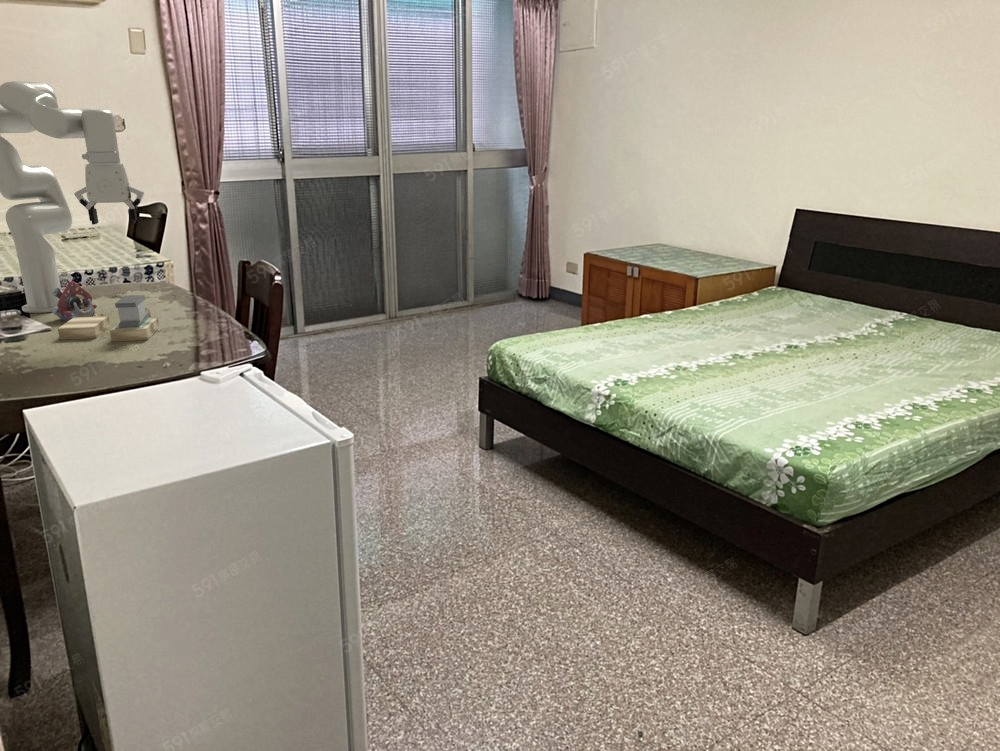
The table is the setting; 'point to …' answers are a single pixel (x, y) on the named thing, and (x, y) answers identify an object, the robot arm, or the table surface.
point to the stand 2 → (135, 331)
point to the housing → (131, 311)
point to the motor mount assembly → (73, 303)
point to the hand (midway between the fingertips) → (114, 223)
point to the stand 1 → (84, 327)
